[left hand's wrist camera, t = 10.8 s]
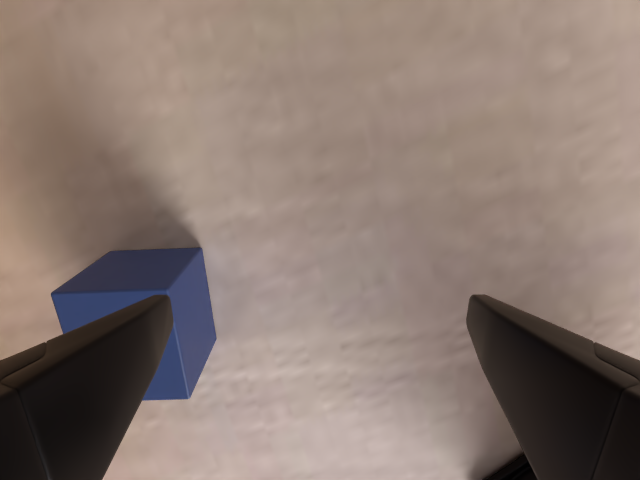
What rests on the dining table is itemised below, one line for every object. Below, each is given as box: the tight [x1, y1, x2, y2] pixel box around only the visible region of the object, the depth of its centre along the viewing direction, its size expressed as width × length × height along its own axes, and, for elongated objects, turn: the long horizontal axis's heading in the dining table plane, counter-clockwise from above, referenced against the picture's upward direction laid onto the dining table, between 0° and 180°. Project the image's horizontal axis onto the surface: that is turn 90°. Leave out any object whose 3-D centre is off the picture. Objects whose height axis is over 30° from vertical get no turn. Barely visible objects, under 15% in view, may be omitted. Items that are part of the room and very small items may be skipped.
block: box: [51, 248, 216, 400], centre depth 17 cm, size 5×4×4 cm
